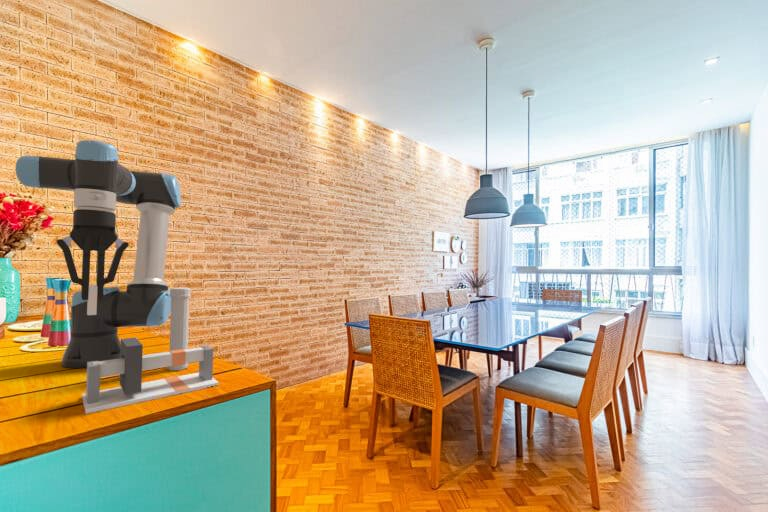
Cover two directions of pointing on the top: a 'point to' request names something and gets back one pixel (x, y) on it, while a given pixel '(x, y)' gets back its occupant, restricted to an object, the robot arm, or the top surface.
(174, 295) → the pipe
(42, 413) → the top surface
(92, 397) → the rail
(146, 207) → the robot arm
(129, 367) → the collar
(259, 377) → the top surface
